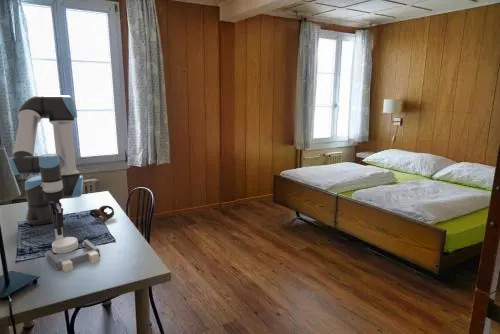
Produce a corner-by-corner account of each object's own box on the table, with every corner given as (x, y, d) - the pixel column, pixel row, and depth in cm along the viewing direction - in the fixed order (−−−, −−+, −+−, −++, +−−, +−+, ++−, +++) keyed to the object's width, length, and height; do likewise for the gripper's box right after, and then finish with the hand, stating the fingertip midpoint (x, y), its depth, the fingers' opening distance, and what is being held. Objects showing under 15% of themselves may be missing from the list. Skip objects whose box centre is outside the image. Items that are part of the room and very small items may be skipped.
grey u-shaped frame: (45, 256, 139) (44, 250, 139) (86, 244, 150) (85, 238, 150) (60, 273, 127) (59, 266, 126) (103, 258, 138) (102, 252, 137)
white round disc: (50, 247, 147) (49, 240, 146) (75, 241, 153) (74, 234, 152) (54, 256, 139) (53, 248, 139) (80, 249, 145) (79, 242, 145)
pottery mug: (112, 215, 186) (115, 204, 182) (112, 227, 180) (115, 217, 176) (88, 213, 181) (91, 202, 177) (87, 226, 174) (90, 215, 170)
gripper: (39, 188, 146) (46, 238, 151) (47, 195, 137) (55, 248, 142) (58, 185, 151) (64, 234, 156) (67, 191, 142) (74, 242, 148)
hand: (59, 240), depth 149 cm, fingers closed
